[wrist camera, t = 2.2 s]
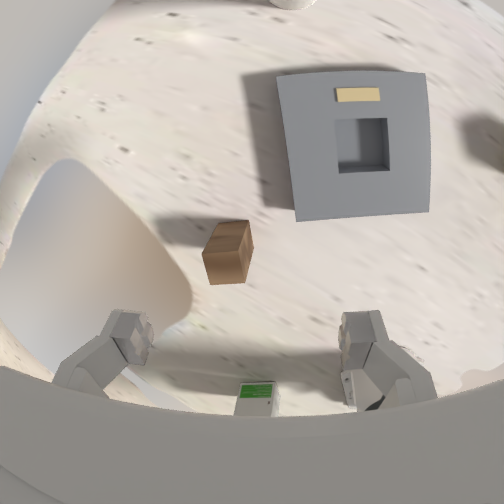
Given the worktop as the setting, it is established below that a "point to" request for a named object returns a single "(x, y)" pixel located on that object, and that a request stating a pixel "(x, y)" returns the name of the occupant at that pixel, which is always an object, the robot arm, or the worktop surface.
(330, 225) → the worktop surface
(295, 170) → the block
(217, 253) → the plug block
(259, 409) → the skincare box
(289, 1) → the cylindrical container
